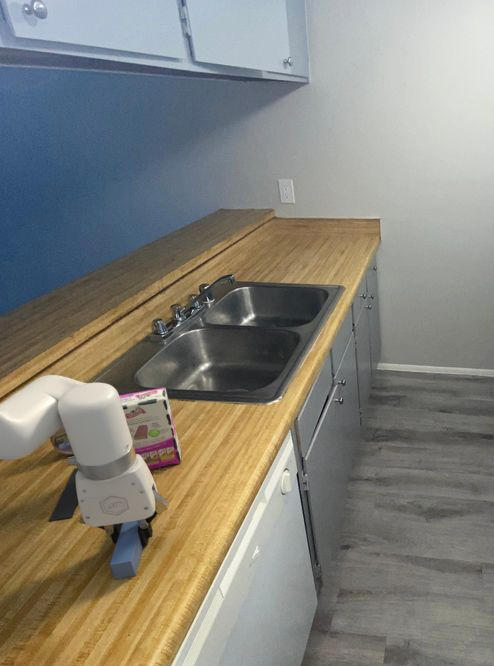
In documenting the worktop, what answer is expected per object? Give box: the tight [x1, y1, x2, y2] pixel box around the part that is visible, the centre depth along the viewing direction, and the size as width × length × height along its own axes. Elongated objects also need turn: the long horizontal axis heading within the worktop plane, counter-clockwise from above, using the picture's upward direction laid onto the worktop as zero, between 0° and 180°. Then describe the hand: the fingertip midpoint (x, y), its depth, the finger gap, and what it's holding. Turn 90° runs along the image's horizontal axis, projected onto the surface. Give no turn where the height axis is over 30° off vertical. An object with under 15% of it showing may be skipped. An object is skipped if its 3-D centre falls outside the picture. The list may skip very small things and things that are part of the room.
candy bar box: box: [119, 386, 182, 471], centre depth 95 cm, size 11×5×16 cm, turn 114°
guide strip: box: [48, 467, 79, 522], centre depth 91 cm, size 4×14×1 cm, turn 15°
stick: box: [109, 520, 144, 580], centre depth 81 cm, size 3×14×4 cm, turn 16°
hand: (134, 540), depth 81 cm, fingers closed on stick, 3 cm apart
